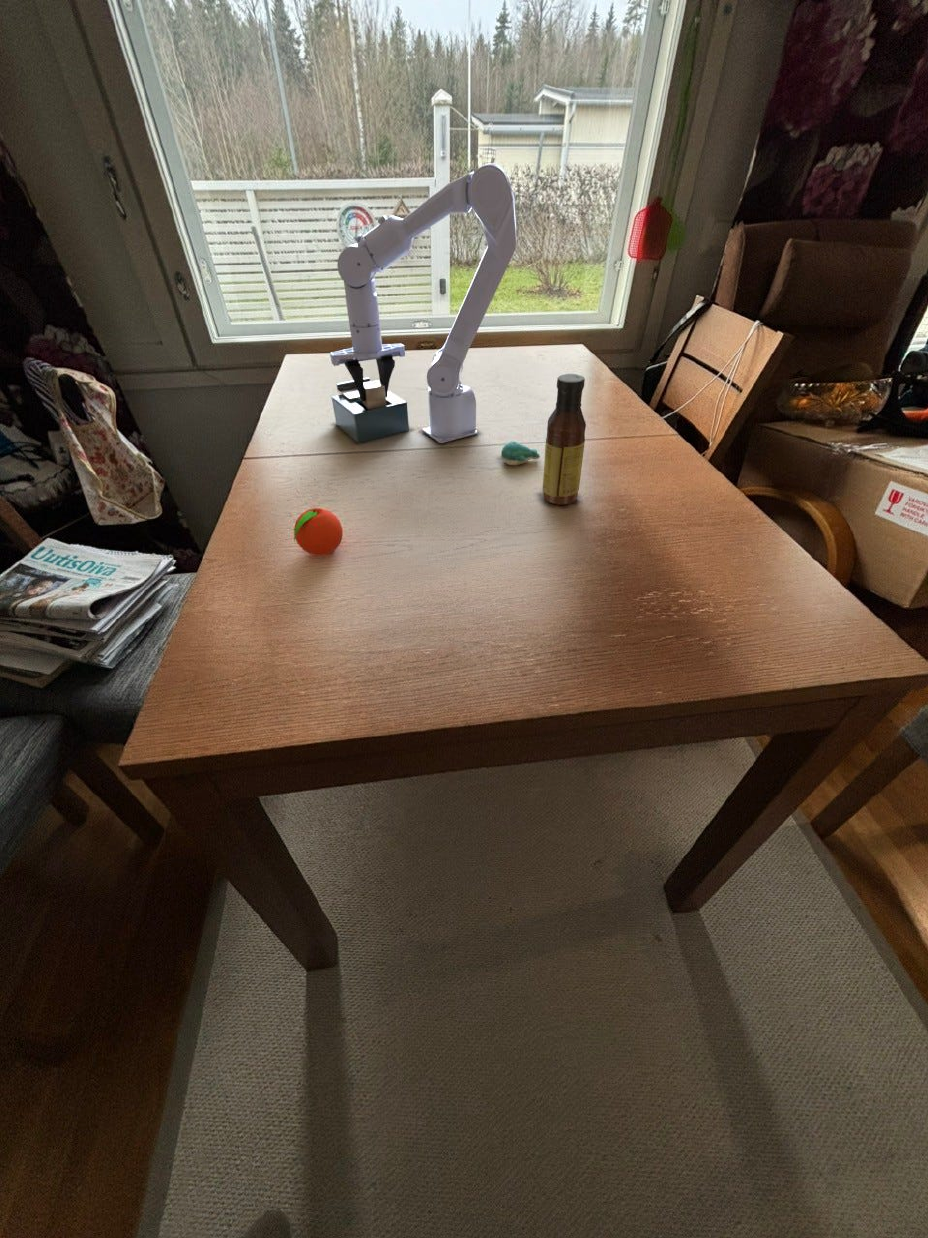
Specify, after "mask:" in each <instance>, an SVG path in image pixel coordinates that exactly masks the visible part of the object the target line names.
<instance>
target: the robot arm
mask: <svg viewBox="0 0 928 1238" xmlns="http://www.w3.org/2000/svg"><path fill="white" fill-rule="evenodd" d="M472 210H473V212H474V213H475V215H476V217H477V218H478V220H479V222H480V223H481V225H482V230H483V234H484V238H485V241H486V245H487V246H486V249H485V251H484V253H483V256H482V258H481V260H480V262H479V264H478V267H477V269H476V271H475V273H474V276H473V278H472V281H471V283H470V285H469V288H468V290H467V293H466V295H465V297H464V299H463V302H462V304H461V306H460V309H459V310H458V313H457V315H456V318H455V320H454V322H453V324H452V327H451V328H450V331H449V334H448V336H447V337H446V340H445V342H444V343H443V346H442V347H441V348H440V349H439V350H438V351H436V352H435V354H434V355H433V357H432V361H431V365H430V366H429V368H428V369H427V373H426V383H427V386H428V388H427V390H428V391H427V395H428V412H429V413H428V414H429V415H428V416H429V426H428V427H424V428H422V432H423V433H425V434H426V435H427V436H429V437H430V438H432V439H434V441H436V442H438V443H439V444H445V443H448V442H452V441H455V440H459V439H463V438H467V437H471V436H474V435H478V433H479V431H478V430H477V399H476V396H475V395H476V394H475V393H474V391H473V389H472V388H471V387H470V386H468V385H463V384H462V382H461V380H460V378H461V375H462V372H463V368H464V362H465V360H466V358H467V355H468V352H469V350H470V347H471V345H472V343H473V341H474V339H475V337H476V335H477V333H478V331H479V329H480V326H481V325H482V322H483V320H484V318H485V316H486V313H487V311H488V309H489V307H490V305H491V303H492V301H493V298H494V296H495V294H496V293H497V291H498V288H499V285H500V283H501V282H502V280H503V277H504V276H505V273H506V271H507V269H508V267H509V264H510V262H511V260H512V258H513V257H514V254H515V251H516V249H517V226H516V225H517V223H516V210H515V194H514V191H513V188H512V185H511V181H510V178H509V175H508V174H507V171H506V170H505V169H504V168H503V167H502V166H500V165H499V164H497V163H486V164H483V165H481V166H480V167H478V168H477V169H476V170H475V171H472V172H469V173H467V174H465V175H463V176H460V177H458V178H456V179H455V180H452V181H450V182H448V183H447V184H446V185H445V186H443V187H442V188H441V189H439V190H438V191H437V192H436V193H434V194H433V195H431V196H430V197H429V198H428V199H427V200H424V202H423V203H421V204H420V205H419V206H418V207H416V208H415V209H414V210H412V211H411V212H410V213H409V214H407V215H406V216H405V217H404V218H403V217H402V218H401V217H399V216H396V215H394V214H391V215H389V216H388V217H387V216H386V215H382V216H381V217H380V218H378V219H377V223H378V224H377V225H376V226H374V227H373V228H372V229H370V230H369V231H368V232H366V234H364V235H362V234H361V233H360V234H358V235H357V236H356V237H355V241H356V243H354V244H351V245H347V246H345V247H344V248H343V250H342V251H341V252H340V254H339V255H338V258H337V264H336V265H337V271H338V274H339V277H340V278H341V279H342V281H343V285H344V292H345V293H344V294H345V303H346V310H347V318H348V324H349V331H350V339H351V345H352V347H350V348H346V349H341V350H338V351H337V350H336V351H331V352H329V356H330V361H331V362H330V363H331V364H332V366H334V367H337V366H338V367H339V366H340V365H344V366H345V368H346V369H347V371H348V373H349V375H350V376H351V378H352V381H353V380H354V382H355V385H356V387H357V390H358V393H359V396H360V399H361V400H362V401H366V394H365V389H364V381H363V378H364V368H363V367H362V366H361V363H360V362H365V361H372V360H373V361H374V360H375V361H376V366H377V371H378V378H379V381H380V382H381V383H382V384H383V385H384V386H385V395H386V397H387V395H388V390H389V386H390V380H391V377H392V374H393V372H394V369H395V367H396V360H395V359H394V358H395V357H399V358H402V357H406V351H405V348H406V347H405V345H404V344H402V342H401V343H386V344H385V343H384V344H383V341H382V339H383V338H382V330H381V321H380V312H379V301H378V294H377V290H376V280H375V277H376V276H377V275H376V274H377V273H382V272H384V271H385V270H387V269H388V268H389V267H391V266H393V265H394V264H395V263H397V262H398V261H399V260H401V259H402V258H404V257H406V256H407V255H408V254H410V253H411V251H412V245H413V240H414V239H415V238H416V237H417V236H419V235H420V234H423V232H426V231H427V230H429V228H431V227H432V226H434V225H436V224H438V223H439V222H440V221H442V220H443V219H445V218H446V217H448V216H449V215H451V214H469V213H470V212H471V211H472Z"/></svg>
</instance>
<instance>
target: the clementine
mask: <svg viewBox="0 0 928 1238" xmlns="http://www.w3.org/2000/svg"><path fill="white" fill-rule="evenodd" d="M293 532H294V533H293V542H295V541H296V543H297V545H298V546H299V547H300V548H301V549H302V550H303V551H304V552H306V553H308V554H310V555H312V556H319V557H321V556H326V555H329V554H331V553H333V552H335V551H336V550H337V549H338V548H339V546H340V545H341V543H342V540H343V536H344V529H343V526H342V523H341V520H340V519H339V518H338V517H337V515H336V514H335V513H334V512H332V511H330V510H329V509H325V508H322V507H312V508H309V509H307V510H305V511H303V512H302V513H301V514H299V516H298V517H297V519H296V520H295V523H294V527H293Z"/></svg>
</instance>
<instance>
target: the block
mask: <svg viewBox="0 0 928 1238" xmlns="http://www.w3.org/2000/svg"><path fill="white" fill-rule="evenodd" d="M364 389H365V394H366V401H362V403H363V404H364V405H365V406H366V407H367V408H368V409H373V408H379V407H384V406H387V405H386V395H385V386H384V385H383V384H382V383H381V382H380V379H378V380H370V382H364Z"/></svg>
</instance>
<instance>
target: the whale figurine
mask: <svg viewBox="0 0 928 1238" xmlns="http://www.w3.org/2000/svg"><path fill="white" fill-rule="evenodd" d="M500 454H501V455H500V456H501V457H500V458H501V460H502V461H503V463H505V464H506V465H509V466H518V465H520V464H524V463H527V462H529V461H530V460H538V459H540V456H541V455H540V454H539V453H538V450H537V449H535V448H533V449H531V448H529V447H527V446H525V445H524V444H521V443H519V442H516V441H509V442H507V443H505V445H504V446H503V447H502V449H501V453H500Z"/></svg>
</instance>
